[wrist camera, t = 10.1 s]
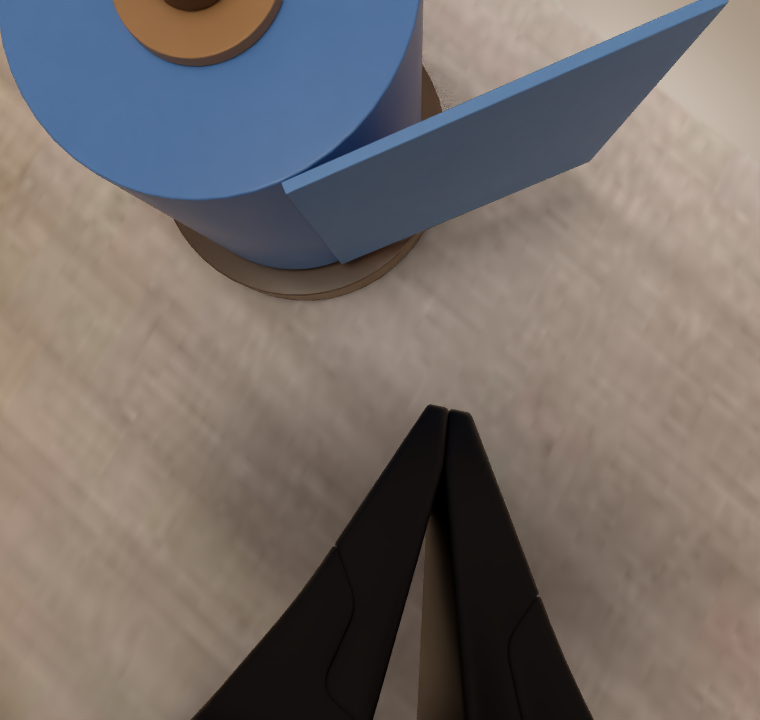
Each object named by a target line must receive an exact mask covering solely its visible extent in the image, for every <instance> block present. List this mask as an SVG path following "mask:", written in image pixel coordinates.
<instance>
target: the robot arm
mask: <svg viewBox="0 0 760 720" xmlns="http://www.w3.org/2000/svg"><path fill="white" fill-rule="evenodd" d="M425 532H426V544H425V564H424V585H423V606H422V626H421V647H420V668H419V688H418V709H417V720H594V719H593V717H592V715H591V713H590V711H589V709H588V707H587V705H586V703H585V701H584V699H583V697H582V695H581V692H580V690H579V688H578V686H577V684H576V682H575V679H574V677H573V675H572V673H571V671H570V669H569V666H568V664H567V662H566V660H565V658H564V655H563V653H562V650H561V648H560V645H559V643H558V640H557V638H556V635H555V633H554V631H553V628H552V626H551V623H550V621H549V618H548V615H547V613H546V610H545V607H544V605H543V602H542V599H541V598H540V597H537V595H538V589H537V587H536V584H535V581H534V579H533V576H532V574H531V571H530V568H529V566H528V563H527V560H526V558H525V555H524V552H523V550H522V547H521V544H520V542H519V539H518V537H517V534H516V531H515V529H514V526H513V523H512V521H511V518H510V515H509V513H508V510H507V507H506V505H505V502H504V499H503V497H502V494H501V492H500V489H499V486H498V484H497V481H496V478H495V476H494V473H493V470H492V468H491V465H490V462H489V460H488V457H487V454H486V452H485V449H484V447H483V444H482V441H481V439H480V436H479V433H478V431H477V428H476V425H475V423H474V420H473V418H472V416H471V414H470V413H468V412H464V411H459V410H455V409H451V410H450V411H448V409H447V408H445V407H441V406H436V405H432V404H430V405H428V406H427V407H426V408H425V410H424V411H423V413H422V414H421V416H420V417H419V419H418V420H417V422H416V423H415V424H414V426H413V427H412V429H411V430H410V432H409V433H408V435H407V436H406V438H405V439H404V441H403V442H402V444H401V445H400V447H399V448H398V450H397V451H396V453H395V454H394V456H393V457H392V459H391V460H390V462H389V463H388V465H387V466H386V468H385V469H384V471H383V472H382V474H381V475H380V477H379V478H378V480H377V481H376V483H375V484H374V486H373V487H372V489H371V490H370V492H369V493H368V495H367V496H366V498H365V499H364V501H363V502H362V504H361V505H360V507H359V508H358V510H357V511H356V513H355V514H354V516H353V517H352V519H351V520H350V522H349V523H348V525H347V526H346V528H345V529H344V531H343V532H342V534H341V535H340V537H339V538H338V540H337V541H336V543H335V546H334V547H332V548H331V550H330V551H329V553H328V554H327V556H326V557H325V559H324V560H323V562H322V563H321V565H320V566H319V567H318V569H317V570H316V572H315V573H314V574H313V576H312V577H311V579H310V580H309V581H308V583H307V584H306V586H305V587H304V588H303V590H302V591H301V592H300V594H299V595H298V596H297V597H296V599H295V600H294V601H293V602H292V604H291V605H290V606H289V607H288V609H287V610H286V611H285V612H284V614H283V615H282V616H281V617H280V619H279V620H278V621H277V622H276V623H275V625H274V626H273V627H272V628H271V629H270V630H269V631H268V633H267V634H266V635H265V636H264V637H263V638H262V640H261V641H260V642H259V643H258V644H257V645H256V647H255V648H254V649H253V650H252V651H251V652H250V654H249V655H248V656H247V657H246V658H245V659H244V661H243V662H242V663H241V664H240V665H239V666H238V668H237V669H236V670H235V671H234V672H233V673H232V675H231V676H230V677H229V678H228V679H227V680H226V681H225V683H224V684H223V685H222V686H221V687H220V688H219V690H218V691H217V692H216V693H215V694H214V695H213V696H212V697H211V699H210V700H209V701H208V702H207V703H206V704H205V705H204V706H203V707H202V708H201V709H200V710H199V712H198V713H197V714H196V715H195V716H194V717H193V718H192V719H191V720H373V717H374V714H375V710H376V707H377V703H378V700H379V696H380V692H381V689H382V685H383V682H384V678H385V675H386V671H387V667H388V664H389V660H390V657H391V653H392V650H393V646H394V643H395V639H396V635H397V632H398V628H399V625H400V621H401V618H402V614H403V610H404V607H405V603H406V600H407V596H408V593H409V589H410V585H411V582H412V578H413V575H414V571H415V568H416V564H417V560H418V557H419V553H420V550H421V546H422V543H423V539H424V536H425Z"/></svg>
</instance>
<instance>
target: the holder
mask: <svg viewBox="0 0 760 720" xmlns="http://www.w3.org/2000/svg"><path fill="white" fill-rule="evenodd" d="M439 113H442V110H441V106H440V102H439V98H438V96H437V93H436V91H435V88H434V86H433V83H432V81H431V79H430V77H429V75H428V74H427V72H426V70H425V68H424V67H423V65H422V98H421V121H423V120H425V119H428V118H430V117H432V116H435V115H437V114H439ZM173 219H174V218H173ZM174 220H175V219H174ZM175 222H176V224H177V226H178V228H179V230H180V232H181V233H182V234H183V236H184V237H185V238H186V240H187V241H188V243H189V244H190V245H191V247H192V248H193V249H194V250H195V251H196V252H197V253H198V254H199V255H200V256H201V257H202V258H203V259H204V260H205V261H206V262H207V263H209V264H210V265H211V266H212V267H213V268H215V269H216V270H217V271H219V272H220V273H222V274H224V275H225V276H227V277H228V278H230V279H232V280H233V281H236V282H238V283H240V284H243V285H245V286H247V287H249V288H252V289H254V290H256V291H259V292H261V293H264V294H268V295H271V296H275V297H279V298H286V299H293V300H317V299H325V298H332V297H336V296H339V295H343V294H347V293H350V292H352V291H355V290H357V289H359V288H362V287H364V286H366V285H368V284H370V283H371V282H373V281H375V280H377V279H378V278H380V277H381V276H383V275H384V274H385V273H387V272H388V271H389V270H391V269H392V268H393V267H395V266H396V265H397V264H398V263H399V262H400V261H401V260H402V259H403V258H404V257H405V256H406V255H407V254H408V253H409V251H410V250H411V249H412V247H413V246H414V245H415V244H416V242H417V241H418V240H419V238H420V237H421V235H422V233H423V232H424V230H423V231H421V232H419V233H416V234H414V235H411V236H409V237H407V238H404V239H402V240H399V241H397V242H395V243H392V244H390V245H387V246H385V247H383V248H380V249H378V250H375V251H373V252H371V253H368V254H366V255H363V256H361V257H359V258H356V259H354V260H351V261H349V262H347V263H344V264H341V263H340V261H337V262H334V263H331V264H328V265H325V266H320V267H315V268H310V269H295V270H293V269H278V268H273V267H268V266H263V265H260V264H257V263H254V262H251V261H249V260H246V259H244V258H242V257H240V256H238V255H236V254H235V253H233V252H231V251H229V250H227V249H226V248H224V247H222V246H221V245H219V244H217V243H215V242H214V241H212V240H210V239H208V238H207V237H205V236H203V235H201V234H200V233H198V232H196V231H194V230H193V229H191V228H189V227H187V226H186V225H184V224H182V223H181V222H179V221H177V220H175Z"/></svg>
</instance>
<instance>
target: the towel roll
mask: <svg viewBox="0 0 760 720" xmlns="http://www.w3.org/2000/svg"><path fill="white" fill-rule="evenodd" d="M727 3H728V0H698V1H696V2H694V3H691V4H689V5H687V6H684V7H682V8H680V9H678V10H675V11H673V12H671V13H668V14H666V15H664V16H661V17H659V18H657V19H654V20H652V21H650V22H648V23H645V24H643V25H641V26H639V27H636V28H634V29H632V30H629V31H627V32H625V33H622V34H620V35H618V36H616V37H613V38H611V39H609V40H606V41H604V42H602V43H600V44H597V45H595V46H593V47H590V48H588V49H586V50H583V51H581V52H579V53H577V54H574V55H572V56H570V57H567V58H565V59H563V60H561V61H558V62H556V63H554V64H551V65H549V66H547V67H545V68H542V69H540V70H538V71H535V72H533V73H531V74H529V75H526V76H524V77H522V78H519V79H517V80H515V81H513V82H510V83H508V84H506V85H503V86H501V87H499V88H496V89H494V90H492V91H490V92H487V93H485V94H483V95H480V96H478V97H476V98H474V99H471V100H469V101H467V102H464V103H462V104H460V105H458V106H455V107H453V108H451V109H448V110H446V111H444V112H442V113H439V114H437V115H435V116H432V117H430V118H428V119H425V120H423V121H421V98H422V34H423V0H0V31H1V37H2V43H3V47H4V50H5V53H6V57H7V60H8V63H9V67H10V70H11V72H12V75H13V77H14V79H15V81H16V83H17V86H18V88H19V90H20V92H21V95H22V96H23V98H24V100H25V101H26V103H27V104H28V106H29V108H30V109H31V111H32V112H33V114H34V116H35V117H36V119H37V120H38V121H39V123H40V124H41V125H42V126H43V128H44V129H45V130H46V131H47V132H48V134H49V135H50V136H51V137H52V138H53V140H54V141H55V142H56V143H58V144H59V145H60V146H61V147H62V148H63V149H64V150H65V151H66V152H67V153H68V154H69V155H70V156H72V157H73V158H74V159H75V160H77V161H78V162H80V163H81V164H82V165H84V166H85V167H87V168H88V169H90V170H91V171H92V172H94V173H95V174H97V175H99V176H101V177H102V178H104V179H106V180H107V181H109V182H111V183H113V184H114V185H116V186H118V187H120V188H121V189H123V190H125V191H127V192H128V193H130V194H132V195H134V196H135V197H137V198H139V199H141V200H142V201H144V202H146V203H147V204H149V205H151V206H153V207H154V208H156V209H158V210H160V211H161V212H163V213H165V214H167V215H168V216H170V217H172V218H174V219H175V220H177V221H179V222H181V223H182V224H184V225H186V226H187V227H189V228H191V229H193V230H194V231H196V232H198V233H200V234H201V235H203V236H205V237H207V238H208V239H210V240H212V241H214V242H215V243H217V244H219V245H221V246H222V247H224V248H226V249H227V250H229V251H231V252H233V253H235V254H236V255H238V256H240V257H242V258H244V259H246V260H249V261H251V262H254V263H257V264H260V265H263V266H268V267H273V268H278V269H293V270H295V269H310V268H315V267H320V266H325V265H328V264H331V263H334V262H337V261H340V263H341V264H344V263H347V262H349V261H351V260H354V259H356V258H359V257H361V256H363V255H366V254H368V253H371V252H373V251H375V250H378V249H380V248H383V247H385V246H387V245H390V244H392V243H395V242H397V241H399V240H402V239H404V238H407V237H409V236H411V235H414V234H416V233H419V232H421V231H423V230H426V229H428V228H431V227H433V226H435V225H438V224H440V223H443V222H445V221H447V220H450V219H452V218H455V217H457V216H459V215H462V214H464V213H467V212H469V211H471V210H474V209H476V208H479V207H481V206H483V205H486V204H488V203H491V202H493V201H495V200H498V199H500V198H503V197H505V196H507V195H510V194H512V193H515V192H517V191H519V190H522V189H524V188H527V187H529V186H531V185H534V184H536V183H539V182H541V181H544V180H546V179H548V178H551V177H553V176H556V175H558V174H560V173H563V172H565V171H568V170H570V169H572V168H575V167H577V166H580V165H582V164H584V163H587V162H589V161H590V160H591V159H592V158H593V157H594V156H595V155H596V153H597V152H598V151H599V150H600V149H601V148H602V147H603V145H604V144H605V143H606V142H607V141H608V140H609V138H610V137H611V136H612V135H613V134H614V133H615V132H616V130H617V129H618V128H619V127H620V126H621V125H622V124H623V122H624V121H625V120H626V119H627V118H628V117H629V116H630V114H631V113H632V112H633V111H634V110H635V109H636V108H637V106H638V105H639V104H640V103H641V102H642V101H643V99H644V98H645V97H646V96H647V95H648V94H649V93H650V91H651V90H652V89H653V88H654V87H655V86H656V85H657V83H658V82H659V81H660V80H661V79H662V78H663V77H664V75H665V74H666V73H667V72H668V71H669V70H670V68H671V67H672V66H673V65H674V64H675V63H676V61H677V60H678V59H679V58H680V57H681V56H682V55H683V54H684V52H685V51H686V50H687V49H688V48H689V47H690V46H691V44H692V43H693V42H694V41H695V40H696V39H697V38H698V36H699V35H700V34H701V33H702V32H703V31H704V29H705V28H706V27H707V26H708V25H709V24H710V23H711V22H712V20H713V19H714V18H715V17H716V16H717V15H718V13H719V12H720V11H721V10H722V9H723V8H724V7H725V5H726V4H727Z"/></svg>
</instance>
